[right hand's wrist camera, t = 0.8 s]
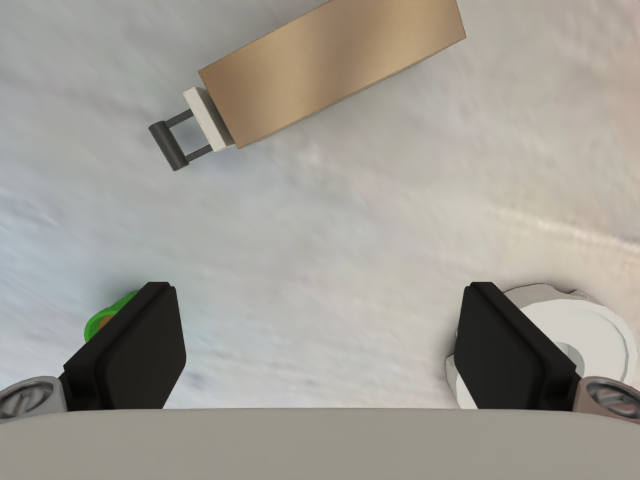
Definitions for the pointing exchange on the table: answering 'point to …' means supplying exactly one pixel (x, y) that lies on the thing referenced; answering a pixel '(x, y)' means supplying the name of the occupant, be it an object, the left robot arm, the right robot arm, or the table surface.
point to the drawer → (208, 122)
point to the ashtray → (569, 335)
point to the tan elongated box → (325, 61)
